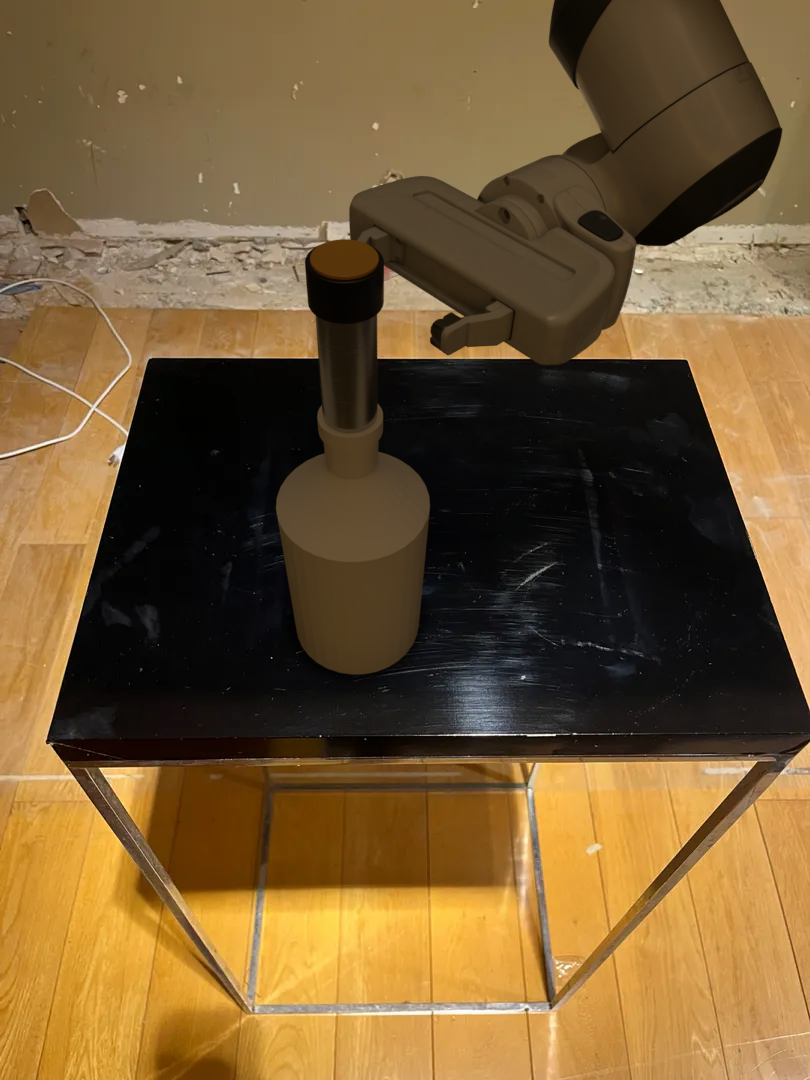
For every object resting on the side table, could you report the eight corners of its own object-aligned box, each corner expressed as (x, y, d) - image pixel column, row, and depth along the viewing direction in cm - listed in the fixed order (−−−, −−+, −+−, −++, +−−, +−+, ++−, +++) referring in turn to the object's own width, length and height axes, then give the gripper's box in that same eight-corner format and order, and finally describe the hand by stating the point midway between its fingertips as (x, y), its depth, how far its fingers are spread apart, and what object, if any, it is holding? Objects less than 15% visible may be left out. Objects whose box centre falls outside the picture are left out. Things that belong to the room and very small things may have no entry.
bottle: (440, 656, 74) (461, 454, 55) (312, 693, 71) (287, 494, 52) (397, 558, 81) (403, 349, 62) (279, 588, 78) (247, 379, 59)
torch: (390, 399, 58) (392, 242, 49) (373, 443, 55) (372, 285, 46) (328, 388, 59) (318, 231, 50) (307, 430, 56) (293, 272, 47)
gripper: (433, 138, 61) (284, 196, 55) (657, 251, 52) (507, 338, 46) (429, 217, 66) (291, 280, 60) (634, 335, 57) (495, 423, 51)
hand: (386, 306), depth 53 cm, fingers open, 8 cm apart
